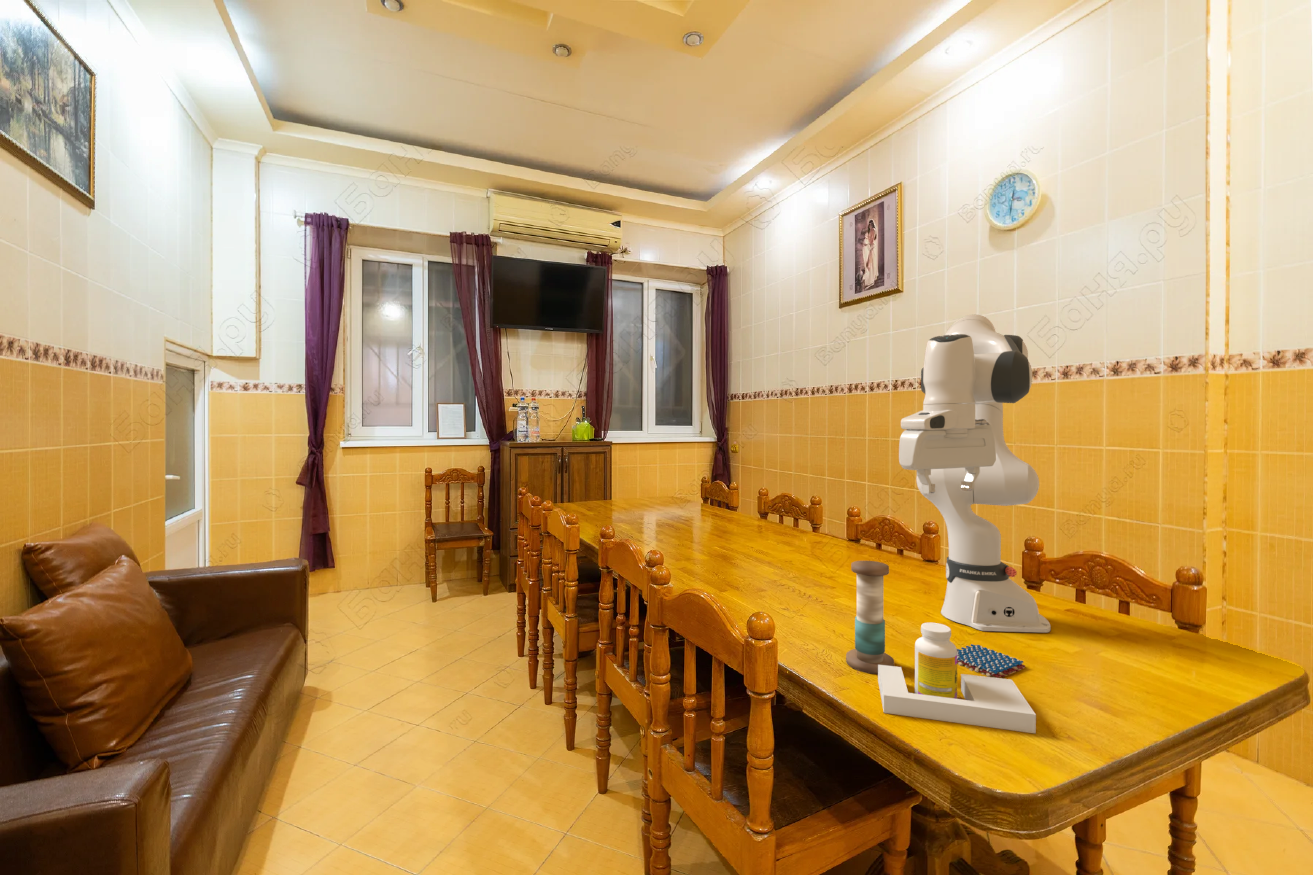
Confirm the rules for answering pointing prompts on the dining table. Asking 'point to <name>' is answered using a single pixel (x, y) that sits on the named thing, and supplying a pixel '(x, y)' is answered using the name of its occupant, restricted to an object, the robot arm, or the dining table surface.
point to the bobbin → (869, 619)
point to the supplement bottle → (935, 662)
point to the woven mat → (988, 661)
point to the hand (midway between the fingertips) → (948, 491)
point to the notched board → (960, 702)
